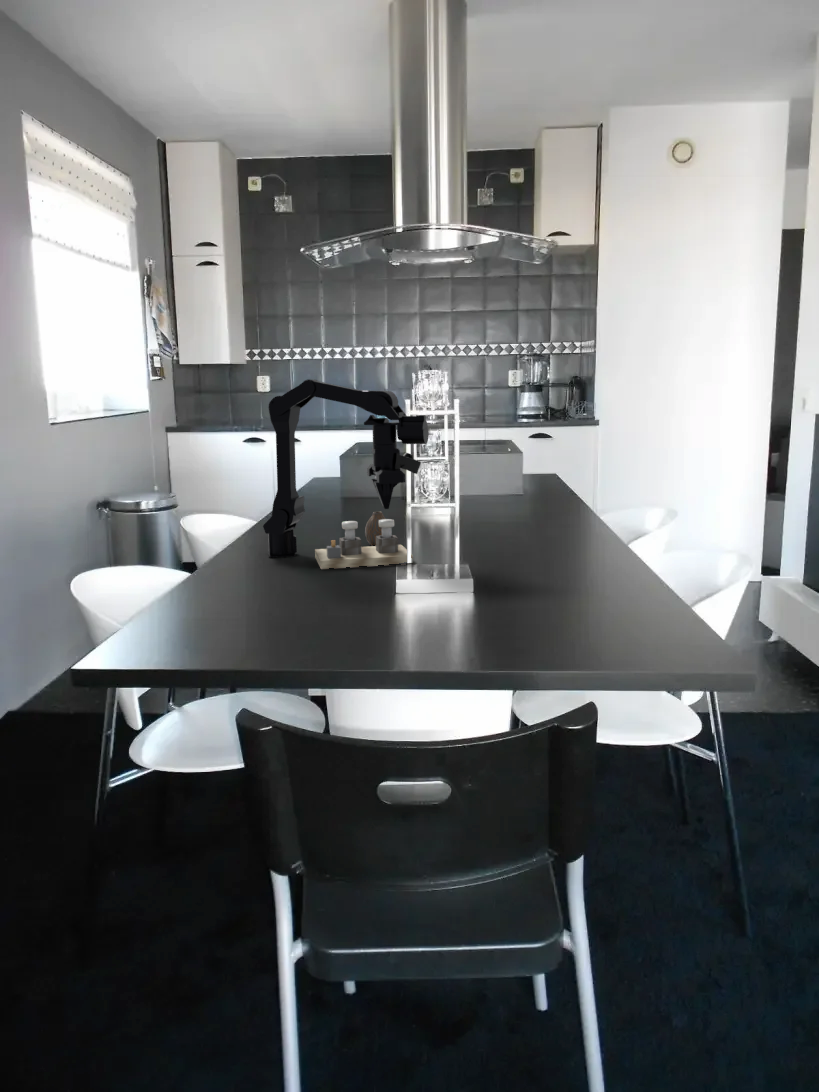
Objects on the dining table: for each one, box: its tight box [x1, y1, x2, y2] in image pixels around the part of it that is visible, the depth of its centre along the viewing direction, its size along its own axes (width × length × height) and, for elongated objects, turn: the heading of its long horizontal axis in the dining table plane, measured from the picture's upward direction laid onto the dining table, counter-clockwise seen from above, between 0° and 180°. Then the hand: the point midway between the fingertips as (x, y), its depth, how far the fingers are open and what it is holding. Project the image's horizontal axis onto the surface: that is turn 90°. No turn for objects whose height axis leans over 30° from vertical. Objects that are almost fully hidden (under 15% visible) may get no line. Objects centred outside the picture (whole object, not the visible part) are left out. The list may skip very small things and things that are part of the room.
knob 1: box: [341, 520, 359, 540], centre depth 200 cm, size 4×4×5 cm
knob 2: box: [379, 518, 395, 538], centre depth 202 cm, size 4×4×5 cm
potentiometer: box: [326, 539, 341, 559], centre depth 196 cm, size 3×3×4 cm
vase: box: [364, 511, 387, 546], centre depth 221 cm, size 7×7×9 cm
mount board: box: [314, 534, 414, 570], centre depth 201 cm, size 22×14×6 cm, turn 102°
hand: (386, 508), depth 201 cm, fingers closed
